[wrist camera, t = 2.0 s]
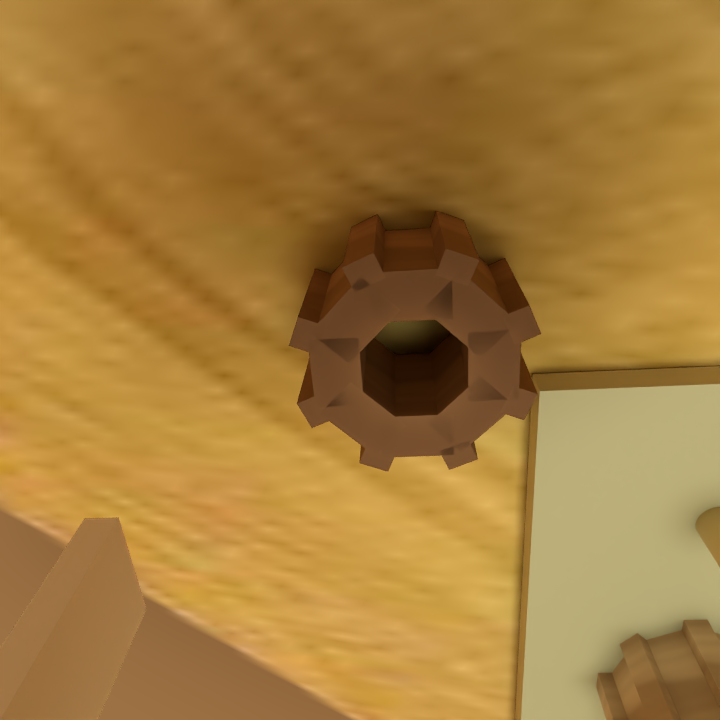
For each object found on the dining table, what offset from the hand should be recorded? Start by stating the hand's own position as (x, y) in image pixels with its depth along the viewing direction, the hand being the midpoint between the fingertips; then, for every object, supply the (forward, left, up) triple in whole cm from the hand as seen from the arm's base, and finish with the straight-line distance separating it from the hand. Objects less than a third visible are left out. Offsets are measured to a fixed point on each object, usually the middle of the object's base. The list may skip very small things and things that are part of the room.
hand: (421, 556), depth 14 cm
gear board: (+15, +13, -14) cm, 24 cm away
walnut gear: (0, 0, -14) cm, 14 cm away
